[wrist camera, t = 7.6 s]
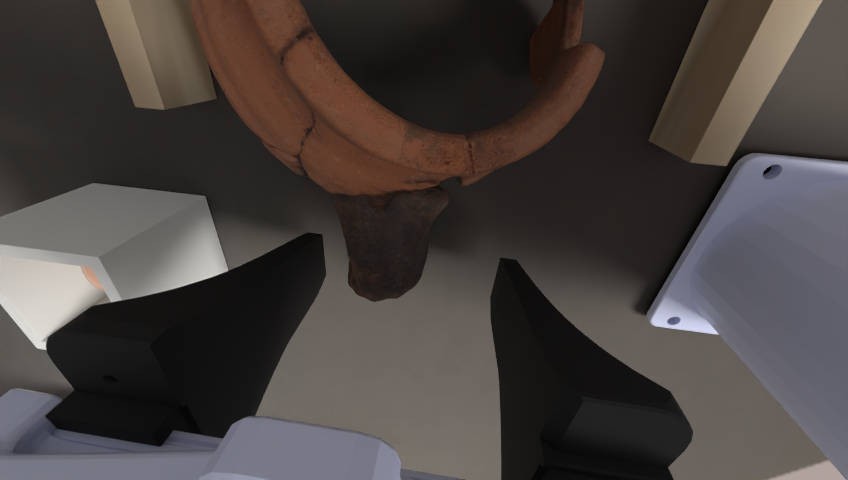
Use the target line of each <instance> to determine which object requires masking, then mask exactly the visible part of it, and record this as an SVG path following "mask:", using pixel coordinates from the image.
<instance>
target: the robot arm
mask: <svg viewBox="0 0 848 480" xmlns="http://www.w3.org/2000/svg"><path fill="white" fill-rule="evenodd" d="M771 165H773V166H772V168H771V170H770V171H769V172H768V173H766V174H764V175H763V173H764V171H765V170H766V169H767V168H768V167H770V166H771ZM325 276H326V268H325V258H324V247H323V237H322V234H315V233H305V234H303V235H301V236H299V237H297V238H295V239H293V240H291V241H289V242H287V243H286V244H284V245H282V246H280V247H278V248H276V249H274V250H272V251H270V252H268V253H266V254H264V255H262V256H260V257H258V258H256V259H254V260H252V261H250V262H248V263H245V264H243V265H241V266H239V267H237V268H234V269H232V270H229V271H227V272H224V273H221V274H219V275H216V276H213V277H211V278H208V279H204V280H201V281H198V282H195V283H192V284H188V285H185V286H182V287H179V288H175V289H171V290H167V291H163V292H159V293H155V294H151V295H146V296H142V297H137V298H132V299H126V300H121V301H116V302H110V303H105V304H99V305H93V306H91V307H90V308H88V309H87V310H85V311H84V312H83V313H81V314H80V315H78V316H77V317H76V318H74V319H73V320H71V321H70V322H69V323H67V324H66V325H64V326H63V327H61V328H60V329H59V330H57V331H56V332H54V333H53V334H51V335H50V336H49V337H48V339H47V342H46V349H47V353H48V355H49V357H50V358H51V360H52V362H53V363H54V364H55V365H56V367H57V368H58V369H59V370H60V372H61V373H62V374H63V375H64V377H65V378H66V379H67V380H68V382H69V383H70V384H71V385H72V387H73V388H74V389H75V390H74V391H73V392H72V393H71V394H70V395H68V396H67V397H66V398H65V399H64V400H63V399H61V398H60V397H58V396H56V395H53V394H49V393H43V392H37V391H31V390H25V389H19V388H15V389H11V390H10V391H8V392H7V393H6V394H4V395H3V396H2V397H0V480H464V479H458V478H452V477H447V476H441V475H435V474H429V473H423V472H417V471H411V470H405V469H401V462H400V459H399V457H398V455H397V452H396V451H395V449H394V448H393V447H392V446H391V445H389V444H388V443H386V442H385V441H383V440H382V439H381V438H379V437H376V436H372V435H369V434H366V433H363V432H359V431H353V430H347V429H341V428H335V427H328V426H322V425H316V424H310V423H304V422H298V421H292V420H286V419H280V418H274V417H268V416H255V415H256V412H257V410H258V408H259V405H260V403H261V400H262V398H263V395H264V393H265V391H266V389H267V386H268V384H269V382H270V380H271V377H272V375H273V373H274V371H275V369H276V367H277V364H278V362H279V360H280V358H281V356H282V354H283V352H284V350H285V348H286V346H287V344H288V342H289V341H290V339H291V337H292V336H293V334H294V332H295V331H296V329H297V328H298V326H299V324H300V323H301V321H302V320H303V318H304V316H305V315H306V313H307V311H308V310H309V308H310V307H311V305H312V303H313V302H314V300H315V298H316V297H317V295H318V293H319V290H320V288H321V286H322V284H323V281H324V279H325ZM646 316H647V319H648V320H649V322H650V323H651V324H652V325H654V326H657V327H665V328H673V329H680V330H688V331H695V332H703V333H711V334H718V335H720V336H721V337H722V338H723V339H724V341H725V342H726V343H727V344H728V345H729V346H730V347H731V349H732V350H733V351H734V352H735V353H736V354H737V355H738V357H739V358H740V359H741V360H742V361H743V362H744V363H745V365H746V366H747V367H748V368H749V369H750V370H751V371H752V373H753V374H754V375H755V376H756V377H757V378H758V379H759V381H760V382H761V383H762V384H763V385H764V386H765V387H766V389H767V390H768V391H769V392H770V393H771V394H772V395H773V397H774V398H775V399H776V400H777V401H778V402H779V403H780V405H781V406H782V407H783V408H784V409H785V410H786V411H787V413H788V414H789V415H790V416H791V417H792V418H793V419H794V421H795V422H796V423H797V424H798V425H799V426H800V427H801V429H802V430H803V431H804V432H805V433H806V434H807V435H808V437H809V438H810V439H811V440H812V441H813V442H814V443H815V445H816V446H817V447H818V448H819V449H820V450H821V451H822V453H823V454H824V455H825V456H826V457H827V458H828V459H829V461H830V462H831V463H832V464H833V465H834V466H835V467H836V468H837V470H838V471H839V472H840V473H841V474H842V475H843V476H844V478H845V479H846V480H848V162H846V161H835V160H825V159H815V158H804V157H794V156H784V155H774V154H763V153H751V154H749V155H746V156H744V157H743V158H741V159H740V160H738V161H737V163H736V164H735V165H734V167H733V168H732V170H731V172H730V173H729V175H728V177H727V178H726V180H725V182H724V184H723V185H722V187H721V189H720V190H719V192H718V194H717V195H716V197H715V199H714V200H713V202H712V204H711V206H710V207H709V209H708V211H707V212H706V214H705V216H704V217H703V219H702V221H701V222H700V224H699V226H698V228H697V229H696V231H695V233H694V234H693V236H692V238H691V239H690V241H689V243H688V244H687V246H686V248H685V250H684V251H683V253H682V255H681V256H680V258H679V260H678V261H677V263H676V265H675V266H674V268H673V270H672V272H671V273H670V275H669V277H668V278H667V280H666V282H665V283H664V285H663V287H662V288H661V290H660V292H659V294H658V295H657V297H656V299H655V300H654V302H653V304H652V305H651V307H650V309H649V310H648V312H647V315H646ZM671 317H673V318H671ZM669 318H670V319H669ZM491 325H492V332H493V339H494V345H495V352H496V359H497V365H498V373H499V385H500V411H501V480H674V479H673V477H672V475H671V473H670V471H669V469H668V467H669V466H670V465H671V464H672V463H673V462H674V461H675V460H676V459H677V458H678V457H679V456H680V455H681V454H682V453H683V452H684V451H685V449H686V448H687V447H688V445H689V444H690V442H691V440H692V435H693V431H692V428H691V426H690V424H689V422H688V420H687V419H686V417H685V415H684V413H683V412H682V410H681V408H680V407H679V405H678V403H677V402H676V400H675V398H674V397H673V395H672V394H671V392H670V391H669V390H667V389H665V388H663V387H662V386H660V385H658V384H657V383H655V382H653V381H651V380H650V379H648V378H646V377H645V376H643V375H641V374H639V373H638V372H636V371H634V370H633V369H631V368H630V367H628V366H627V365H625V364H624V363H622V362H621V361H619V360H618V359H616V358H615V357H613V356H612V355H610V354H609V353H608V352H606V351H605V350H603V349H602V348H601V347H599V346H598V345H597V344H596V343H594V342H593V341H592V340H590V339H589V338H588V337H587V336H585V335H584V334H583V333H582V332H581V331H579V330H578V329H577V328H576V327H575V326H574V325H573V324H572V323H570V322H569V321H568V320H567V319H566V318H565V317H564V316H563V315H562V314H561V313H560V312H559V311H558V310H557V309H556V308H555V307H554V306H553V305H552V304H551V303H550V301H549V300H548V299H547V298H546V297H545V296H544V295H543V294H542V292H541V291H540V290H539V289H538V288H537V286H536V285H535V284H534V283H533V281H532V280H531V279H530V277H529V276H528V275H527V274H526V272H525V271H524V270H523V268H522V267H521V266H520V264H519V263H518V262H517V260H513V259H506V258H500V262H499V266H498V270H497V274H496V278H495V282H494V285H493V289H492V293H491Z"/></svg>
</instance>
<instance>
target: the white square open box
mask: <svg viewBox="0 0 848 480" xmlns="http://www.w3.org/2000/svg"><path fill="white" fill-rule="evenodd" d="M81 266H82V267H89V268H92V270H93V272H94V273H95V275H96V277H97V279H98V280H99V282H100V284H101V285H102V287H103V289H104V291H102V290H100V289H98V288H96V287H95V286H93V285H92V284H91V283H90V282H89V281H88V280H87V279H86V278H85V276H84V275H83V273H82V270H81ZM227 271H228V268H227V264H226V261H225V258H224V255H223V252H222V248H221V245H220V242H219V239H218V235H217V232H216V229H215V226H214V222H213V219H212V216H211V213H210V209H209V206H208V203H207V200H206V197H205V196H201V195H192V194H184V193H175V192H167V191H158V190H150V189H141V188H132V187H124V186H115V185H107V184H98V183H92V184H89V185H86V186H84V187H81V188H78V189H75V190H73V191H70V192H67V193H64V194H62V195H59V196H56V197H53V198H51V199H48V200H45V201H43V202H40V203H37V204H34V205H32V206H29V207H26V208H23V209H21V210H18V211H15V212H12V213H10V214H7V215H4V216H1V217H0V304H1V305H2V306H3V308H4V309H5V310H6V311H7V312H8V314H9V315H10V316H11V317H12V319H13V320H14V321H15V322H16V323H17V325H18V326H19V327H20V328H21V329H22V331H23V332H24V333H25V334H26V335H27V337H28V338H29V339H30V340H31V341H32V343H33V344H34V345H35V346H36V348H39V349H46V342H47V339H48V337H49V336H50V335H51V334H53V333H54V332H56V331H57V330H59V329H60V328H61V327H63V326H64V325H66V324H67V323H69V322H70V321H71V320H73V319H74V318H76V317H77V316H78V315H80V314H81V313H83V312H84V311H85V310H87V309H88V308H90V307H91V306H93V305H99V304H105V303H110V302H116V301H121V300H126V299H132V298H137V297H142V296H146V295H151V294H155V293H159V292H163V291H167V290H171V289H175V288H179V287H182V286H185V285H188V284H192V283H195V282H198V281H201V280H204V279H208V278H211V277H213V276H216V275H219V274H221V273H224V272H227ZM46 350H47V349H46Z"/></svg>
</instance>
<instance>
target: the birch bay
mask: <svg viewBox="0 0 848 480" xmlns="http://www.w3.org/2000/svg"><path fill="white" fill-rule="evenodd" d="M95 1H96V3H97V6H98V9H99V11H100V14H101V17H102V19H103V22H104V25H105V27H106V30H107V33H108V35H109V38H110V41H111V43H112V46H113V49H114V51H115V54H116V57H117V59H118V62H119V65H120V67H121V70H122V73H123V75H124V78H125V81H126V83H127V86H128V89H129V91H130V94H131V97H132V100H133V102H134V105H135V107H141V108H150V109H160V110H167V109H172V108H176V107H181V106H186V105H191V104H195V103H200V102H205V101H210V100H214V99H217V97H216V93H215V89H214V85H213V81H212V77H211V73H210V69H209V65H208V62H207V60H206V58H205V55H204V53H203V50H202V47H201V44H200V41H199V38H198V35H197V32H196V29H195V25H194V21H193V16H192V10H191V6H190V2H189V0H95ZM821 2H822V0H708V2H707V5H706V7H705V9H704V12H703V14H702V16H701V19H700V21H699V23H698V26H697V28H696V30H695V33H694V35H693V37H692V40H691V42H690V44H689V47H688V49H687V51H686V54H685V56H684V58H683V61H682V63H681V65H680V68H679V70H678V72H677V75H676V77H675V79H674V82H673V84H672V86H671V89H670V91H669V93H668V95H667V98H666V100H665V102H664V105H663V107H662V109H661V112H660V114H659V116H658V119H657V121H656V123H655V126H654V128H653V130H652V133H651V135H650V137H649V140H648V141H649V142H651V143H653V144H655V145H657V146H659V147H661V148H663V149H665V150H667V151H669V152H670V153H672V154H674V155H676V156H678V157H680V158H682V159H684V160H686V161H688V162H690V163H699V164H709V165H719V166H727V164H728V163H729V161H730V159H731V157H732V156H733V154H734V152H735V150H736V149H737V147H738V145H739V144H740V142H741V140H742V138H743V137H744V135H745V133H746V131H747V130H748V128H749V126H750V124H751V123H752V121H753V119H754V118H755V116H756V114H757V112H758V111H759V109H760V107H761V105H762V104H763V102H764V100H765V99H766V97H767V95H768V93H769V92H770V90H771V88H772V86H773V85H774V83H775V81H776V80H777V78H778V76H779V74H780V73H781V71H782V69H783V67H784V66H785V64H786V62H787V61H788V59H789V57H790V55H791V54H792V52H793V50H794V48H795V47H796V45H797V43H798V42H799V40H800V38H801V36H802V35H803V33H804V31H805V29H806V28H807V26H808V24H809V23H810V21H811V19H812V17H813V16H814V14H815V12H816V10H817V9H818V7H819V5H820V4H821Z"/></svg>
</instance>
